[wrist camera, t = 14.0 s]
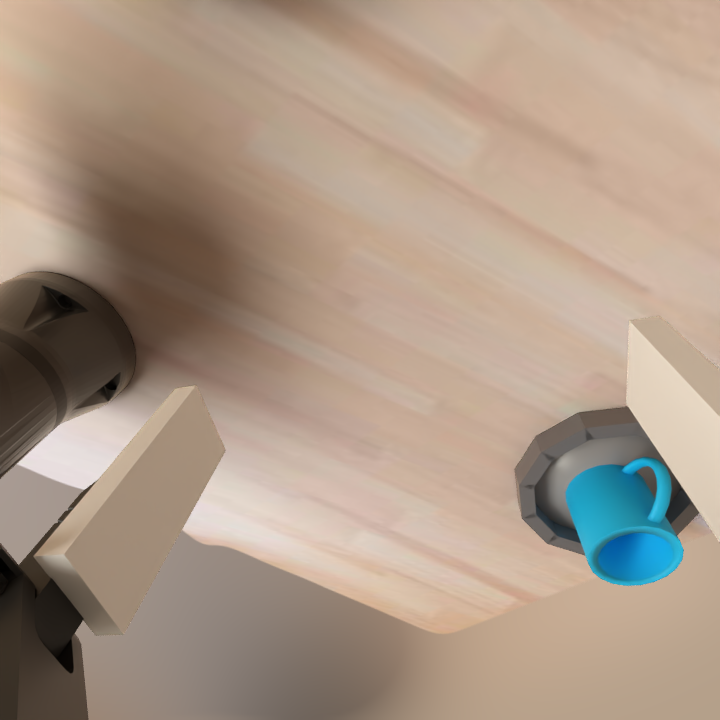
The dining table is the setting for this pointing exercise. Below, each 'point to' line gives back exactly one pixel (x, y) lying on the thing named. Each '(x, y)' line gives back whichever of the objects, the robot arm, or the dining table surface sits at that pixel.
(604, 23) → the dining table surface
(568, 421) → the holder ring
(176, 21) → the dining table surface
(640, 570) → the mug
